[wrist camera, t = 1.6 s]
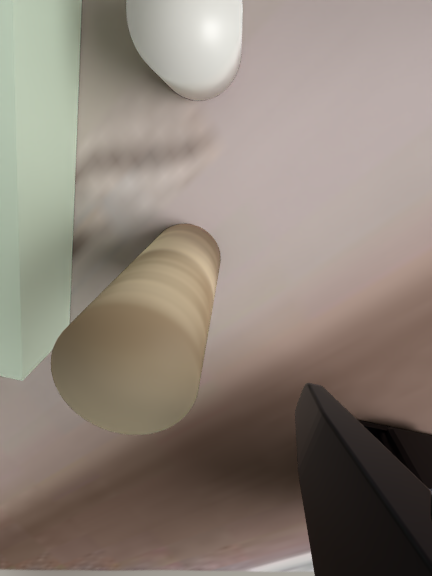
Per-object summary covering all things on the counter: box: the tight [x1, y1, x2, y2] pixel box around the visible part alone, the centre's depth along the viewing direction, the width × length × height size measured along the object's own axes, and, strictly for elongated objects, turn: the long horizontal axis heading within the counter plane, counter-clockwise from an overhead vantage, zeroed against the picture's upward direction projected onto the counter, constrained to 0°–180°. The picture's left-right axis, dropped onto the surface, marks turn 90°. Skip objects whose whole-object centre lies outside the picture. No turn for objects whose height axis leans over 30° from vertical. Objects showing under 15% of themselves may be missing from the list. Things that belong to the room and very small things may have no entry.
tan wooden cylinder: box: [51, 224, 220, 435], centre depth 13 cm, size 4×4×10 cm
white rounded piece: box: [126, 0, 243, 101], centre depth 12 cm, size 4×4×4 cm
